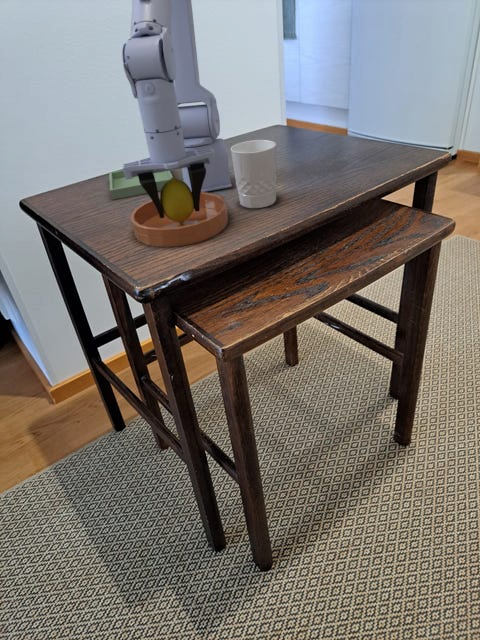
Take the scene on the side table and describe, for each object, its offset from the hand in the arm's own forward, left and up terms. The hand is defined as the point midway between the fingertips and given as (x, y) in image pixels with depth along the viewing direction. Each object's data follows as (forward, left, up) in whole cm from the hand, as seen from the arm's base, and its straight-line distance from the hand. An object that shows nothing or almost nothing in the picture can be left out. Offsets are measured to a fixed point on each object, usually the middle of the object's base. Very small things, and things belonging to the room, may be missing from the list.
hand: (179, 212), depth 76 cm
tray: (+5, -27, -2) cm, 28 cm away
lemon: (0, 0, -2) cm, 2 cm away
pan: (0, 0, -2) cm, 2 cm away
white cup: (-15, -4, -2) cm, 16 cm away
